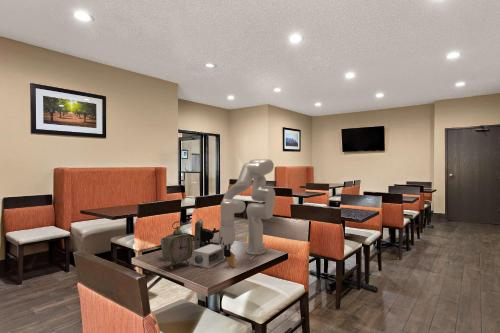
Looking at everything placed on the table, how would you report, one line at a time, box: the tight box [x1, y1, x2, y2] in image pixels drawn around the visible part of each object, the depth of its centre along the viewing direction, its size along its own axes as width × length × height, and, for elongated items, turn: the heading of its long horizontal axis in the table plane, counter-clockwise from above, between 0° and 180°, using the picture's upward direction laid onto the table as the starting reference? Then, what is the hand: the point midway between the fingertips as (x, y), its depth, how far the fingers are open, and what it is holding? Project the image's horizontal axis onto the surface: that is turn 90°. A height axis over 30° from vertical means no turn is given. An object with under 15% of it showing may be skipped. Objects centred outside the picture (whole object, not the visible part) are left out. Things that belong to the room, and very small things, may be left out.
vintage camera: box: [193, 219, 220, 251], centre depth 194 cm, size 10×16×20 cm, turn 89°
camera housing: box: [192, 244, 226, 269], centre depth 169 cm, size 18×11×8 cm, turn 150°
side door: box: [224, 250, 237, 268], centre depth 167 cm, size 15×2×7 cm, turn 24°
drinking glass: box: [160, 237, 168, 262], centre depth 177 cm, size 10×10×12 cm
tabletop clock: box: [163, 220, 194, 271], centre depth 163 cm, size 14×9×25 cm, turn 139°
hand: (227, 256), depth 163 cm, fingers closed
